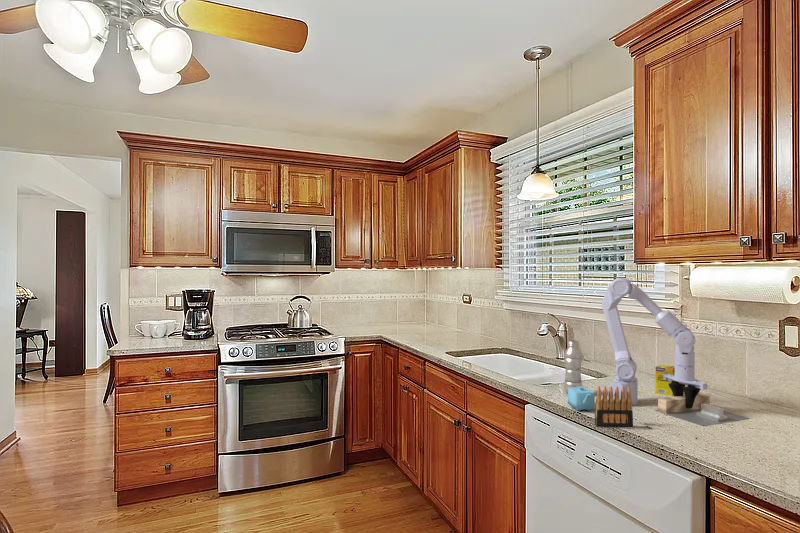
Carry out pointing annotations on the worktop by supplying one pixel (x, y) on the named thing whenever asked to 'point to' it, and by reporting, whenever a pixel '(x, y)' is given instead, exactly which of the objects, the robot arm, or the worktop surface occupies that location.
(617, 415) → the ammunition clip
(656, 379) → the supplement box
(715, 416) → the steel ridge
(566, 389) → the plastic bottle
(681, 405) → the maple batten
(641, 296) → the robot arm
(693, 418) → the charcoal board
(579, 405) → the teapot
